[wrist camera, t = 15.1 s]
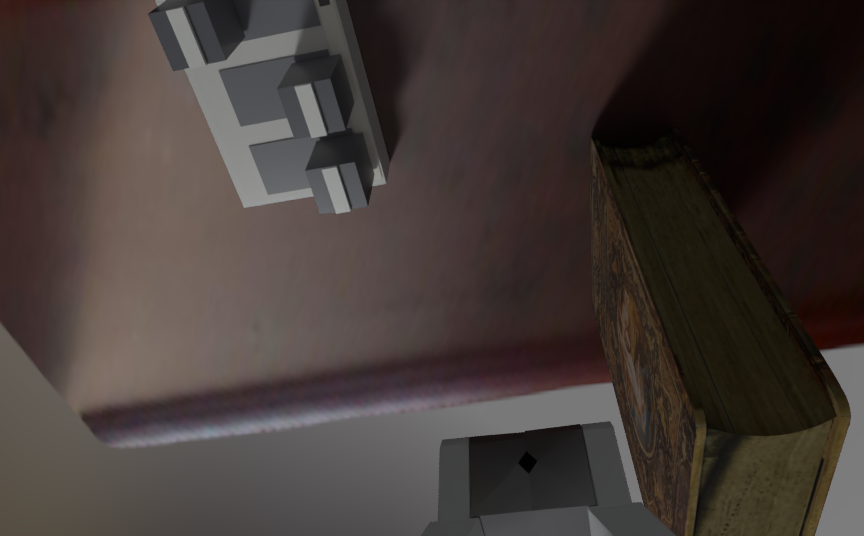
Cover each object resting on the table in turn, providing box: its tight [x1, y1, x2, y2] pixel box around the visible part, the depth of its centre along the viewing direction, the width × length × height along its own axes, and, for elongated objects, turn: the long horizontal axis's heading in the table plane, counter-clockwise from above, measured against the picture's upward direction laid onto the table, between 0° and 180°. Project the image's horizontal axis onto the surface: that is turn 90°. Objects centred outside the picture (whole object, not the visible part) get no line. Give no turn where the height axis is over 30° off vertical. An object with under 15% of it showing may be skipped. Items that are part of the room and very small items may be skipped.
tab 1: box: [148, 0, 245, 71], centre depth 36 cm, size 3×3×4 cm
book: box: [590, 128, 851, 536], centre depth 39 cm, size 16×6×25 cm, turn 9°
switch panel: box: [155, 0, 390, 208], centre depth 42 cm, size 10×15×3 cm, turn 12°
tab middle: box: [277, 54, 355, 139], centre depth 38 cm, size 3×3×4 cm
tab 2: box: [305, 132, 375, 214], centre depth 41 cm, size 3×3×4 cm
